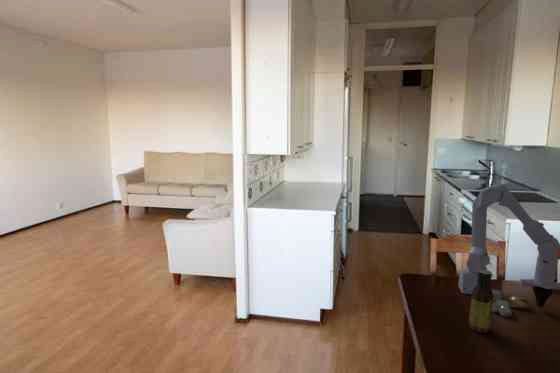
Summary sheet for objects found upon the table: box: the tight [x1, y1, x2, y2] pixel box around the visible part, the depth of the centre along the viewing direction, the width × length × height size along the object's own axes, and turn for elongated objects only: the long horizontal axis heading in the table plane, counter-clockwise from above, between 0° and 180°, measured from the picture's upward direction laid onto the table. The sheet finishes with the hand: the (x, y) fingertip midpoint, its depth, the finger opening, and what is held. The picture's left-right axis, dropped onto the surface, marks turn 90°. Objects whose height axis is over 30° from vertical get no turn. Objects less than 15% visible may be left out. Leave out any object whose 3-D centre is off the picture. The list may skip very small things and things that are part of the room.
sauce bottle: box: [468, 269, 493, 334], centre depth 124 cm, size 6×6×20 cm
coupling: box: [507, 295, 528, 310], centre depth 140 cm, size 5×4×4 cm
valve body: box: [492, 289, 513, 318], centre depth 140 cm, size 6×14×4 cm, turn 167°
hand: (539, 306), depth 138 cm, fingers closed
